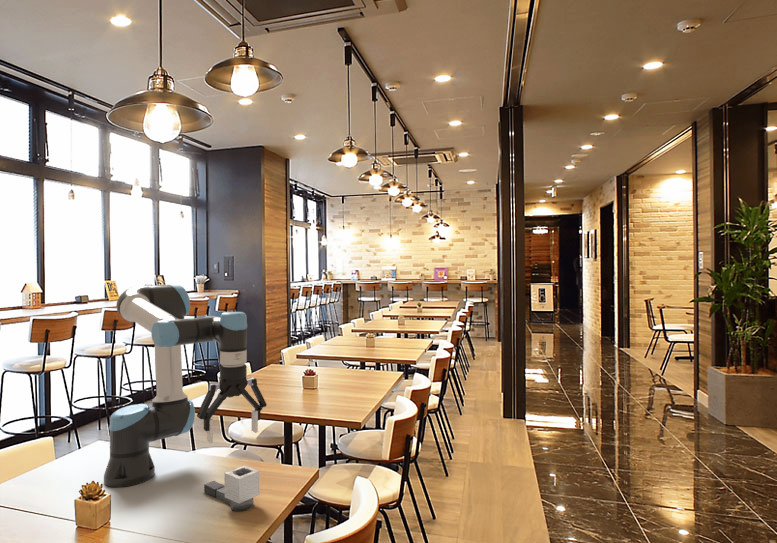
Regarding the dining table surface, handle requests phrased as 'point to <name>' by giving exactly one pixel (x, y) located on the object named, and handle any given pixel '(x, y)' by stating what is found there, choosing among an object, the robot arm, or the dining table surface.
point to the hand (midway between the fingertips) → (232, 436)
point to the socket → (241, 484)
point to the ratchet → (219, 493)
